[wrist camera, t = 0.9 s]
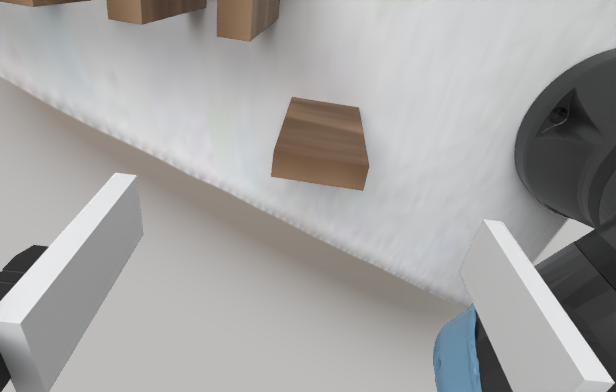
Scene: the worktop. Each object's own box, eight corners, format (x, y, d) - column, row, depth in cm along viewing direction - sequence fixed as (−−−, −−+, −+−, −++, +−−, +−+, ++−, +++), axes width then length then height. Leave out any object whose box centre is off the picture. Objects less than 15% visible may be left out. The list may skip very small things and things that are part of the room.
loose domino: (354, 126, 35) (363, 190, 25) (289, 116, 35) (271, 176, 25) (358, 107, 34) (369, 165, 24) (292, 97, 34) (273, 150, 24)
